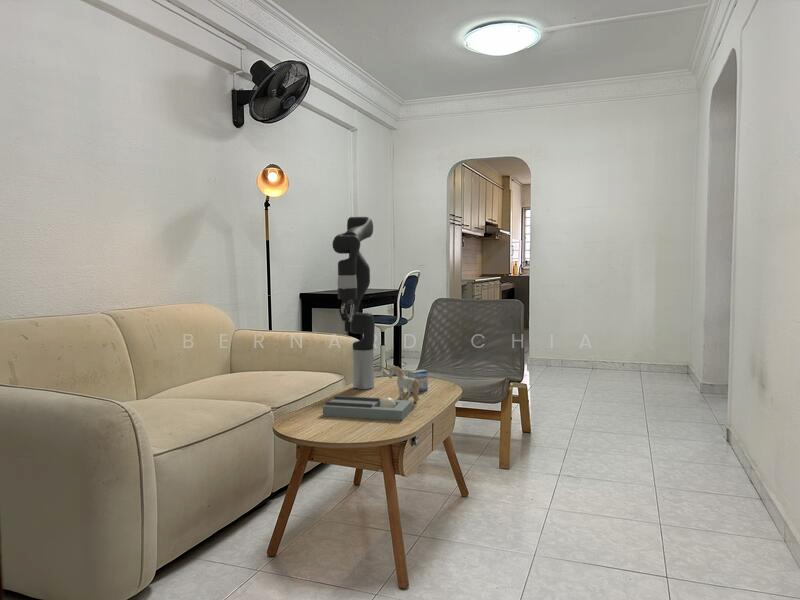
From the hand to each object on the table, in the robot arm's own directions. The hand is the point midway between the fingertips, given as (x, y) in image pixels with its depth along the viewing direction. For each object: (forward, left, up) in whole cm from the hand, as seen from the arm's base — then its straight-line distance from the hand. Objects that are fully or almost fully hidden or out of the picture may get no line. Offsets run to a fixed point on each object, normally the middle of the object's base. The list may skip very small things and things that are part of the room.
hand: (348, 331), depth 228 cm
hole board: (+10, +11, -29) cm, 33 cm away
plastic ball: (+10, +18, -26) cm, 33 cm away
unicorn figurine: (-9, +18, -29) cm, 35 cm away
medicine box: (-29, +21, -29) cm, 46 cm away
